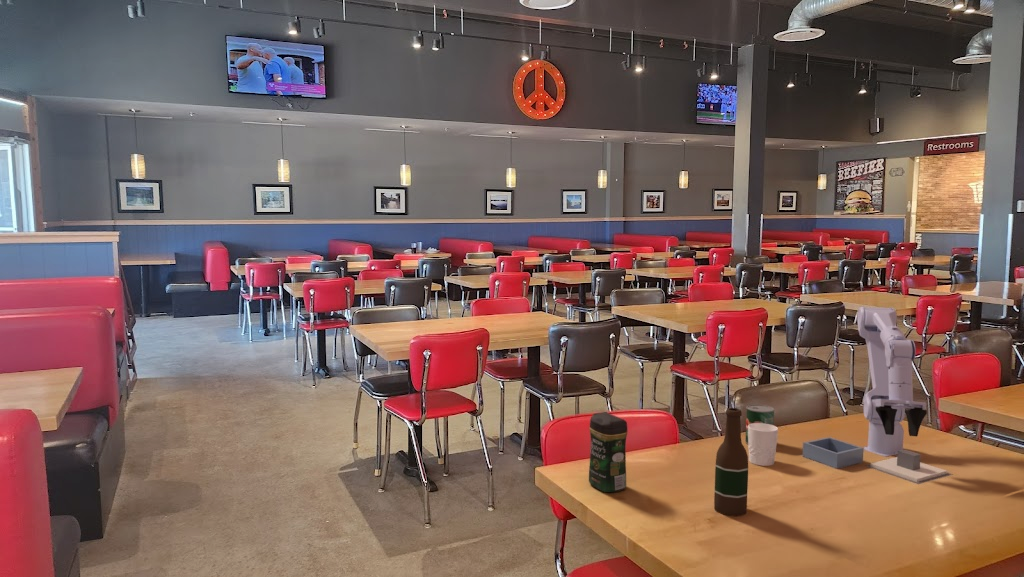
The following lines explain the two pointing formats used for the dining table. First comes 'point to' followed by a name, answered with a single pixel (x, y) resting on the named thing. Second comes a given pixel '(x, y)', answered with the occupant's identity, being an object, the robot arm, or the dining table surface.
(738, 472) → the beer bottle
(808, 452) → the open box
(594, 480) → the coffee jar
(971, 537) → the dining table surface
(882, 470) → the mat
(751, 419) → the canned tomato
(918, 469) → the lid
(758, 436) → the white cup
